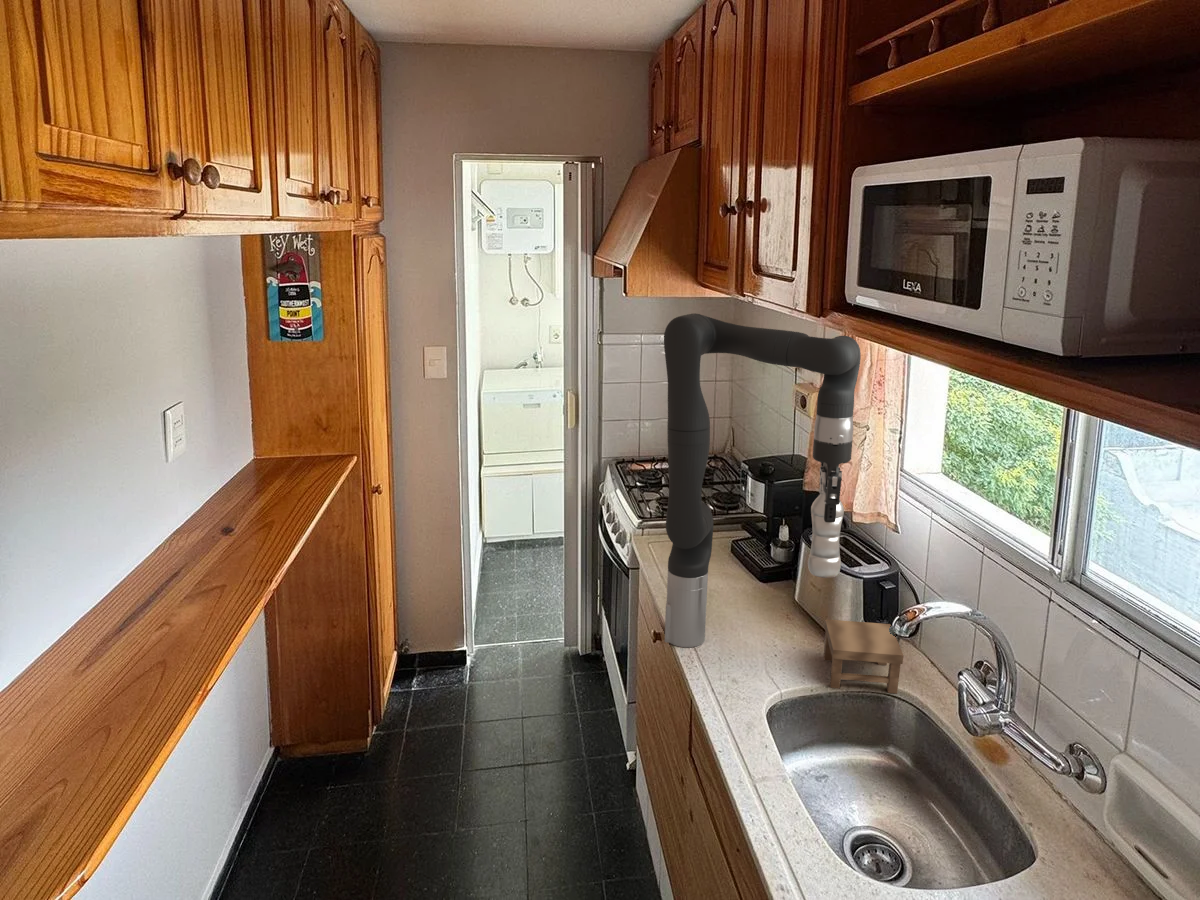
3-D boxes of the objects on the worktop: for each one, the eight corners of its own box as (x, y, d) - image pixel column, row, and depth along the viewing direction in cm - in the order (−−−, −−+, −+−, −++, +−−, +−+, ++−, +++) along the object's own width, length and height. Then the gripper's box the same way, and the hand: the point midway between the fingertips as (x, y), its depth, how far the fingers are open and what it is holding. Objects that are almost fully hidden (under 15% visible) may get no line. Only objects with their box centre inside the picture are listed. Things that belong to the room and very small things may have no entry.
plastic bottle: (841, 582, 170) (848, 489, 165) (807, 580, 171) (813, 487, 166) (839, 570, 176) (845, 480, 171) (806, 568, 177) (812, 478, 172)
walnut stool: (829, 688, 174) (833, 649, 171) (821, 655, 187) (825, 619, 185) (898, 694, 172) (903, 655, 170) (886, 660, 185) (890, 624, 183)
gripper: (810, 428, 173) (805, 504, 177) (817, 445, 159) (812, 527, 164) (847, 429, 172) (841, 505, 176) (857, 446, 158) (851, 529, 163)
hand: (827, 515), depth 170 cm, fingers closed on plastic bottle, 6 cm apart
